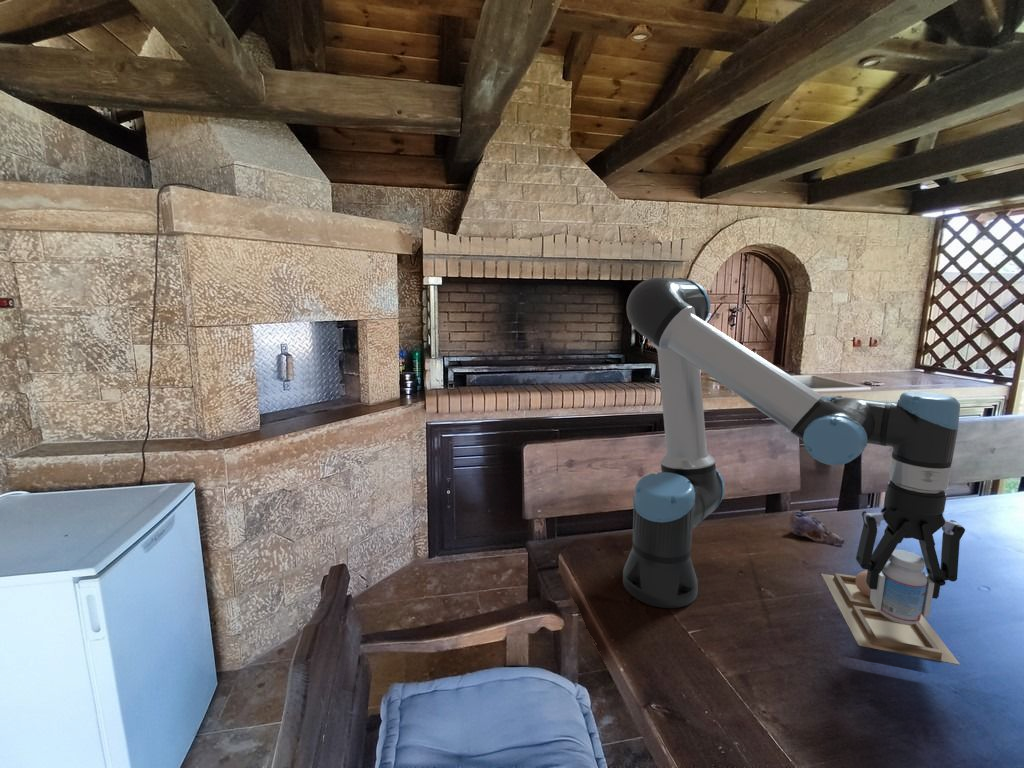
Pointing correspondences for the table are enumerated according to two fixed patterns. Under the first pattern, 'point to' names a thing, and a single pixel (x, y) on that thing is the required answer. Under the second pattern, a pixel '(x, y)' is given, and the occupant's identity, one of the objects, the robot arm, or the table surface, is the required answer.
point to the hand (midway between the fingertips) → (898, 608)
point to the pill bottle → (904, 587)
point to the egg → (863, 583)
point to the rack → (884, 624)
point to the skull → (812, 528)
